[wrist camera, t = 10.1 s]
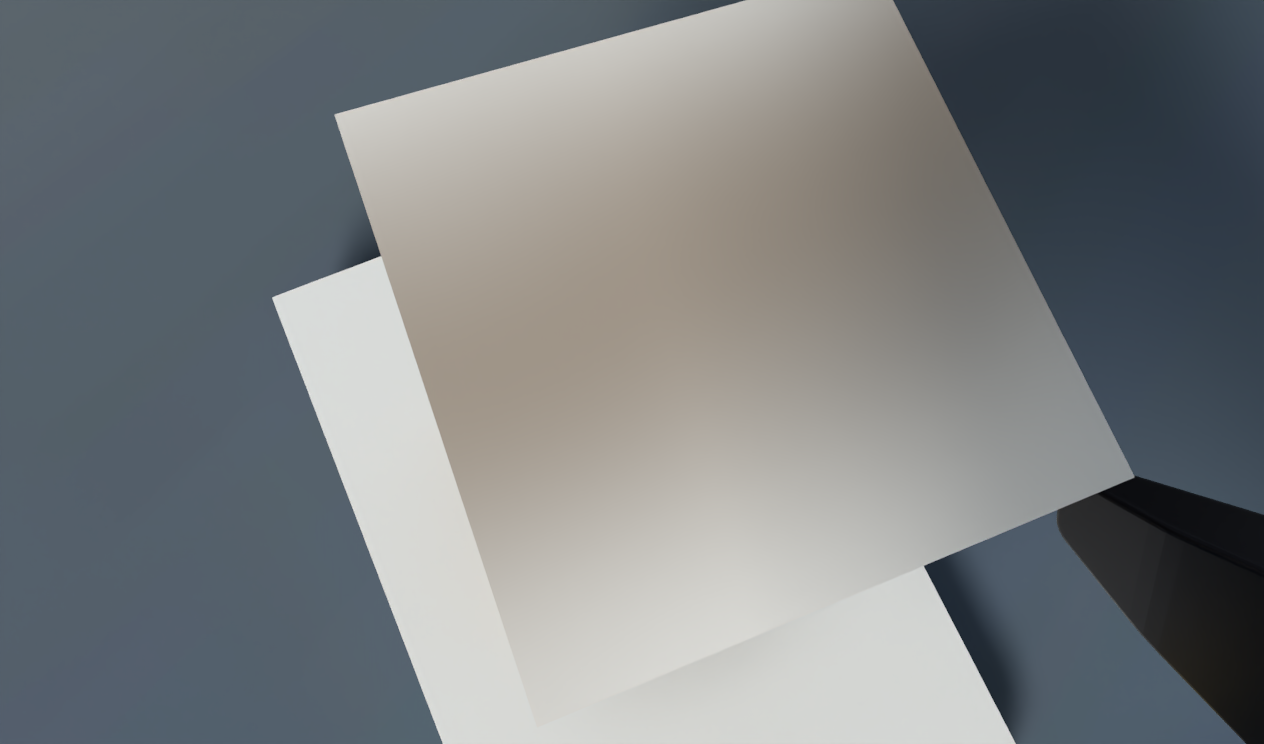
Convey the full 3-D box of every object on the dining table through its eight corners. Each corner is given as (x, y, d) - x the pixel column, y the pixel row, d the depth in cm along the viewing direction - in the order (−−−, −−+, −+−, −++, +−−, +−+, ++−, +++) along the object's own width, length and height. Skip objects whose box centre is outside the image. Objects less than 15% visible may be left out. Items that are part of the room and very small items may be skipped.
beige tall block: (775, 552, 18) (1225, 519, 6) (541, 646, 17) (486, 844, 5) (685, 329, 19) (902, -100, 7) (460, 407, 18) (248, 75, 6)
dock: (995, 806, 20) (1069, 848, 17) (588, 1044, 18) (593, 1137, 15) (683, 189, 23) (700, 135, 20) (312, 334, 21) (271, 297, 18)
